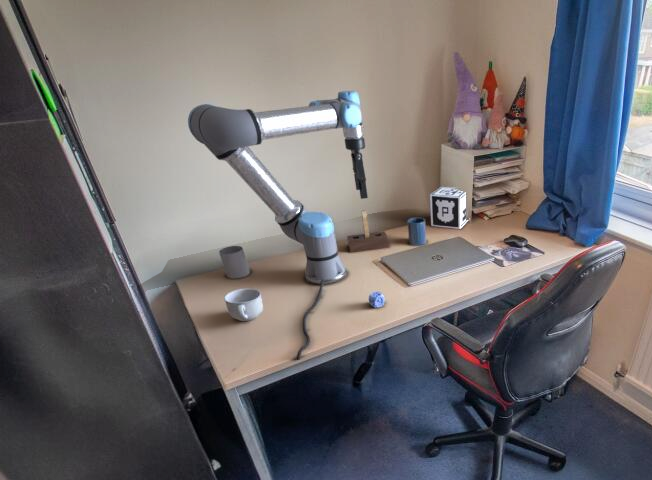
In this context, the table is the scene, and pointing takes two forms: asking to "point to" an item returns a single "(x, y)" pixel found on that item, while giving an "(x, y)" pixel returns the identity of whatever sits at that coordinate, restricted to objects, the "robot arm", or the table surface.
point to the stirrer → (365, 223)
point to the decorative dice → (376, 299)
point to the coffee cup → (417, 231)
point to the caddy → (367, 241)
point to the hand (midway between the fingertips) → (361, 193)
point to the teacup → (244, 304)
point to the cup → (234, 262)
